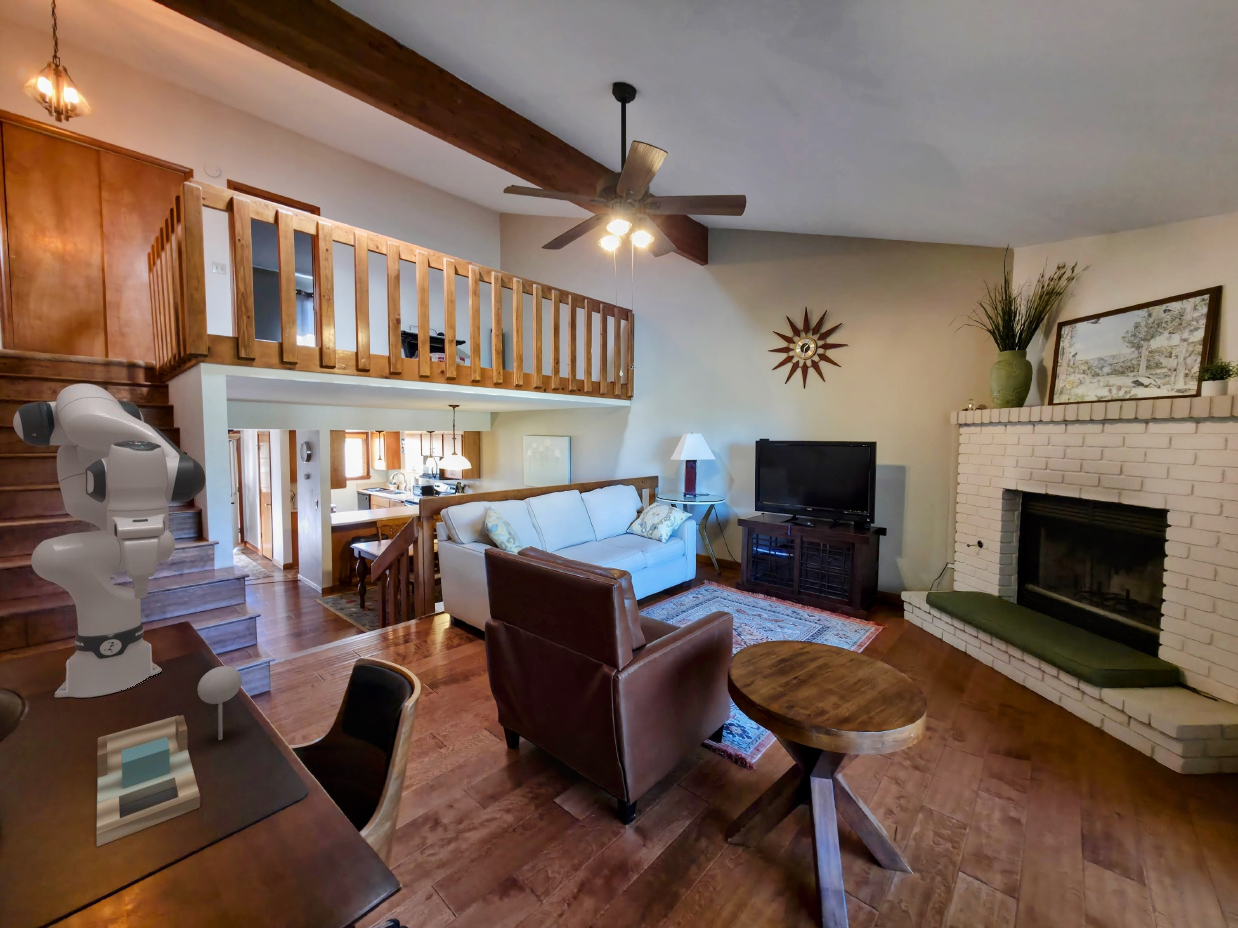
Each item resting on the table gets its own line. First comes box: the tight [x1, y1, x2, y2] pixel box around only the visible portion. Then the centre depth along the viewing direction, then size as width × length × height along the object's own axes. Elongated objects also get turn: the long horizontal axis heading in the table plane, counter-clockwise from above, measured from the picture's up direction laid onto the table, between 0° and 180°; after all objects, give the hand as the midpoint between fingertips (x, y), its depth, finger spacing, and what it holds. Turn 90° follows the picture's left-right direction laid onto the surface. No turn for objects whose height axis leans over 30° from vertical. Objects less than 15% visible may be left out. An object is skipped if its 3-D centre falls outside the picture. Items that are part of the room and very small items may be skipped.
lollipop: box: [196, 665, 243, 741], centre depth 103 cm, size 7×7×15 cm
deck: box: [96, 714, 201, 848], centre depth 92 cm, size 35×12×6 cm, turn 46°
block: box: [122, 737, 170, 789], centre depth 89 cm, size 5×6×4 cm
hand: (139, 592), depth 100 cm, fingers open, 8 cm apart
